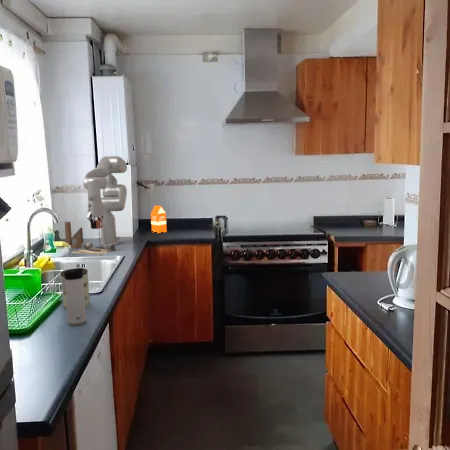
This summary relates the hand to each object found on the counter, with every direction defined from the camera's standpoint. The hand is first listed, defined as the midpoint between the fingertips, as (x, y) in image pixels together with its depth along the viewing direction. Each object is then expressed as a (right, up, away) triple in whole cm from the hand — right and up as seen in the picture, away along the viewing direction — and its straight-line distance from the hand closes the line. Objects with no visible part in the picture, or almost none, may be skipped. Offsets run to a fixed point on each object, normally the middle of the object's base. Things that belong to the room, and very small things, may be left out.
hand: (96, 227), depth 320 cm
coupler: (0, 0, 0) cm, 0 cm away
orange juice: (+29, -4, +74) cm, 80 cm away
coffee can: (+20, -31, -113) cm, 118 cm away
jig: (-1, -15, -1) cm, 15 cm away
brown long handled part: (-17, -14, +12) cm, 25 cm away
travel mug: (+27, -34, -135) cm, 141 cm away
